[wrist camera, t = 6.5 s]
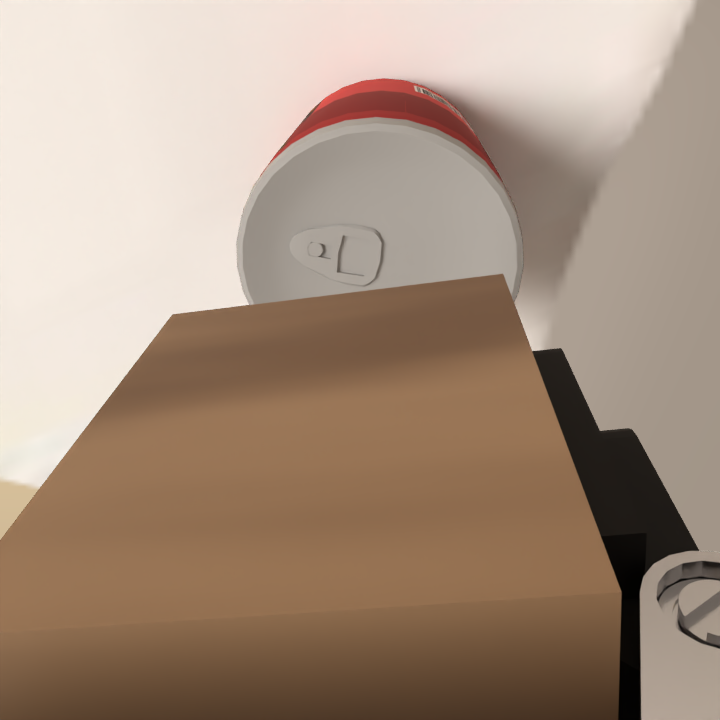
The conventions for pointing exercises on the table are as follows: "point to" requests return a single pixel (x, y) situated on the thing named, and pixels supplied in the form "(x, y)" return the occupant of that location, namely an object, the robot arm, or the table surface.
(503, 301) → the walnut block
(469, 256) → the canned food
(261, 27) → the table surface
